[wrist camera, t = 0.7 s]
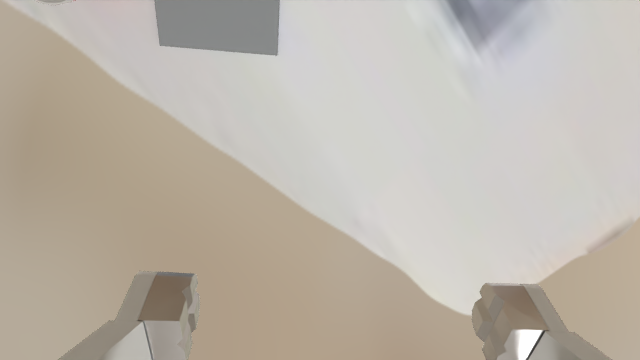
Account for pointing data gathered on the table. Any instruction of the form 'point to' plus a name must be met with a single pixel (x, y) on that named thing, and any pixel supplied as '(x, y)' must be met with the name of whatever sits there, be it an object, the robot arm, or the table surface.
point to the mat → (219, 25)
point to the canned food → (54, 2)
